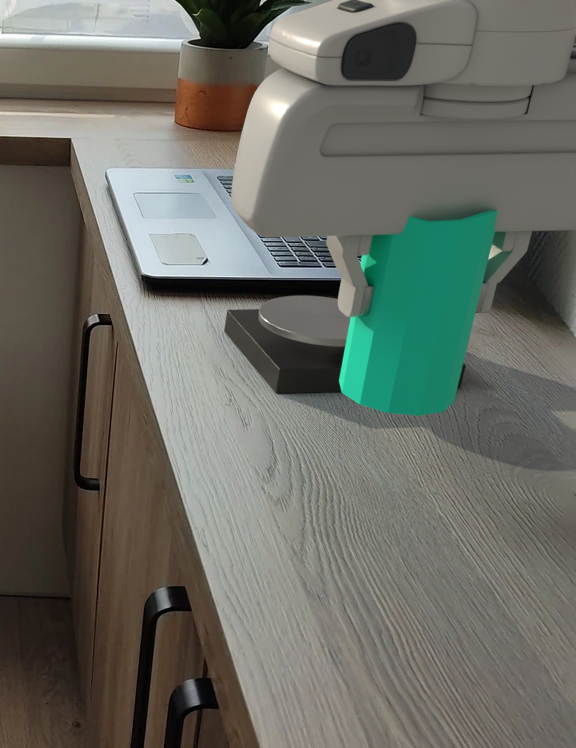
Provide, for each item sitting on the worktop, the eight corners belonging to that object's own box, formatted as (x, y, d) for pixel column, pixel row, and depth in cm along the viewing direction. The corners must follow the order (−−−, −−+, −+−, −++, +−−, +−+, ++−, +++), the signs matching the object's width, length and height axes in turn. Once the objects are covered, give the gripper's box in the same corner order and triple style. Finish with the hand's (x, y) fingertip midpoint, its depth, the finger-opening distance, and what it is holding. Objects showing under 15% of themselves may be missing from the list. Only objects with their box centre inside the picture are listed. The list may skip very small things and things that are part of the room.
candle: (477, 398, 59) (533, 176, 53) (407, 425, 56) (458, 193, 50) (384, 361, 63) (427, 151, 58) (315, 384, 60) (352, 166, 55)
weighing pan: (352, 301, 86) (354, 294, 85) (405, 345, 78) (407, 337, 77) (241, 303, 85) (242, 296, 84) (283, 348, 77) (284, 340, 77)
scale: (390, 325, 91) (399, 285, 89) (466, 388, 80) (477, 343, 78) (222, 329, 89) (227, 288, 88) (275, 393, 78) (283, 348, 77)
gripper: (634, 23, 55) (562, 285, 61) (239, 24, 53) (207, 296, 59) (724, 41, 49) (633, 327, 56) (286, 43, 47) (245, 340, 54)
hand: (411, 311), depth 58 cm, fingers closed on candle, 5 cm apart
